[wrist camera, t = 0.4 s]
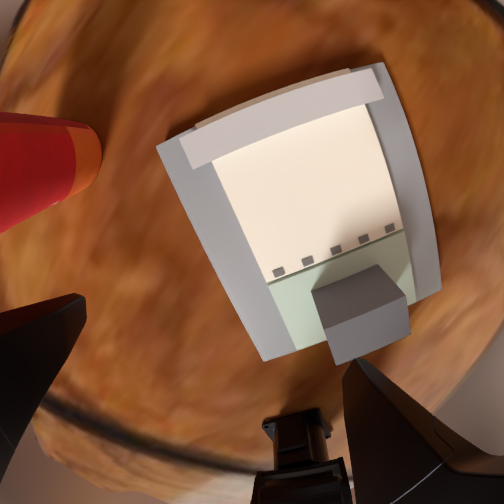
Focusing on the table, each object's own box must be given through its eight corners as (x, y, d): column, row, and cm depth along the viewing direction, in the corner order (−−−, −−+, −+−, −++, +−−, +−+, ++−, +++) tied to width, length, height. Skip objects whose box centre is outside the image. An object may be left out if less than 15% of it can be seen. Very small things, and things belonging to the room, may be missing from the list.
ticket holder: (433, 281, 22) (452, 299, 19) (263, 350, 24) (264, 376, 21) (375, 66, 16) (394, 55, 13) (162, 146, 18) (145, 147, 15)
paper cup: (28, 162, 18) (-102, 200, 5) (77, 90, 17) (-71, 73, 3) (77, 225, 20) (-52, 310, 7) (134, 155, 19) (-26, 188, 5)
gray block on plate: (412, 296, 20) (444, 334, 15) (295, 344, 22) (303, 393, 17) (399, 227, 18) (438, 255, 13) (267, 280, 20) (270, 324, 15)
